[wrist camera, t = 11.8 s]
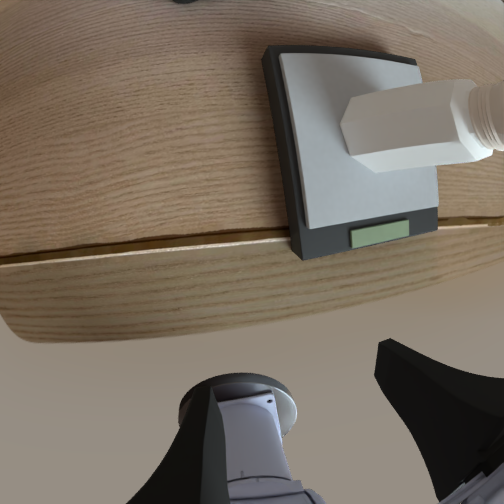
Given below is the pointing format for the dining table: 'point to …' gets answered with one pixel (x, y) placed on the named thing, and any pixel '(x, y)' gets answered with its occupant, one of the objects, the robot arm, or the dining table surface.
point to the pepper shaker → (425, 124)
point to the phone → (184, 1)
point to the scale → (340, 152)
